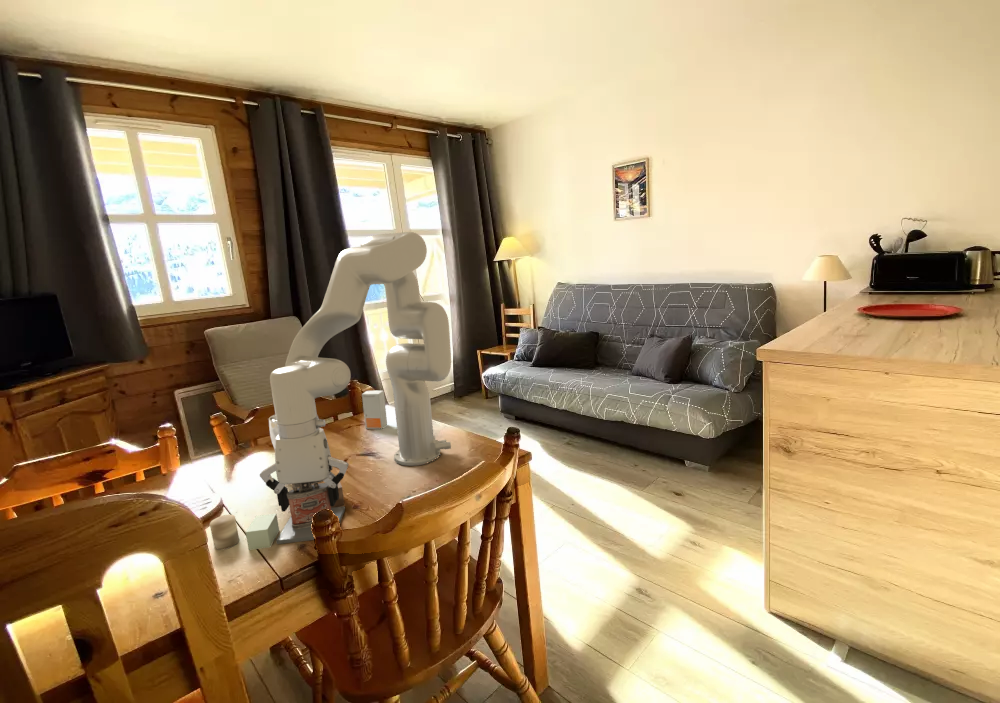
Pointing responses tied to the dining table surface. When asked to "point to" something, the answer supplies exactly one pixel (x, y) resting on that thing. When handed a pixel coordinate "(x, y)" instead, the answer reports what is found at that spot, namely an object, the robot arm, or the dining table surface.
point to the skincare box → (374, 409)
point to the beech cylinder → (224, 532)
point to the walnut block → (341, 499)
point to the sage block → (262, 531)
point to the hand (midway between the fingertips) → (310, 505)
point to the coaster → (302, 530)
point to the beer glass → (273, 429)
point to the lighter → (307, 502)
